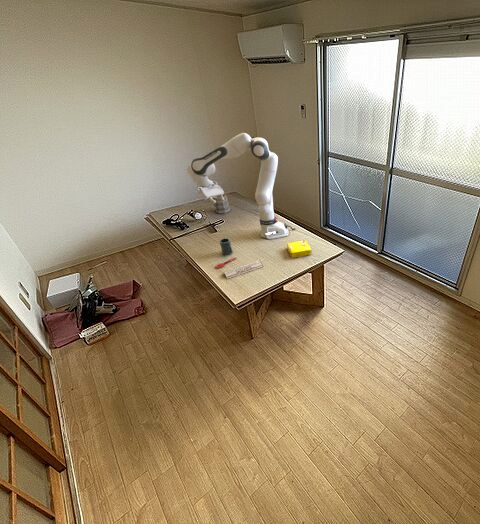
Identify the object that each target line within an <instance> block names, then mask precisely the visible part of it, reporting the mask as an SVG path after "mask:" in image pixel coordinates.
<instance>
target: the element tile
mask: <svg viewBox="0 0 480 524" xmlns="http://www.w3.org/2000/svg"><path fill="white" fill-rule="evenodd" d="M286 249H287V252H288V254H289V256H290V258H291V259H295V258H301V257H306V256H310V255H312V248H311V246H310V244H309V242H308V241H307V240H305V239H302V240H297V241H291V242H288V243H287V244H286Z"/></svg>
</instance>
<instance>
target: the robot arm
mask: <svg viewBox="0 0 480 524" xmlns="http://www.w3.org/2000/svg"><path fill="white" fill-rule="evenodd" d="M269 146H270V145H269V141H268V140H267V139H266V138H265V137H263V136H252V137H251V135H249V134H248V133H246V132H241V133H239V134H237V135H235V136H234V137H232V138H230V139H229V140H228V141H226V142H224V144H222V145H221V146H219V147H218V148H215V149H214V150H212V151H210V152H208V153H207V154H205V155H203V156H201V157H198V158H194V159H192V161H191V163H190V164H189V165H188V166H187V168H186V171H187V174H188V176H189V177H190V179H191V180H192V181H193V182H194V183H195V185H196V186H197V188H196V190H197V192H198V194H199V196H200V197H201V198H202V200H203V201H206V200H208V201H209V202H211V203H212V204H215V203H216V201H215V200H213V199H212V198H216V197H220V198H221V201H222V202H223V201H225V199H224V198H223V195H225V191H224V189H223V188H222V187H221V186H220V185H218V182H217V181H215V180H211V179H209V178H210V177H212V176H213V175H214V174H215V173H216V171H217V167H216V164H215V163H217V162H219V161H221V160H228V159H229V160H232V159H237V158H239V157H240V156H242V155H243V154H245V153H246V152H248V151H251V154H252V155H253V156H254V157H255V158H257V159H259V160H260V161H261V163H260V169H259V175H258V180H257V184H256V189H255V194H254V199H255V202H256V203H257V204H258V205H257V206H258V214H259V224H260V237H262V238H264V239H267V240H275V239H279V238H286V237H288V236H289V234H290V231H289V229H288V227H289V228H290V229H291V230H292V231H294V230H296V228H293V227H292V226H291V225H289V224H288V225H287V223H286V222H285V223H283V222H281V221H279V220H278V217H277V216H276V215H275V211H274V197H273V196H274V195H273V190H274V184H275V182H276V181H275V180H276V175H277V172H278V163H279V157H278V155H277V154H276V153H275V152H273V151H270V149H269Z"/></svg>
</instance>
